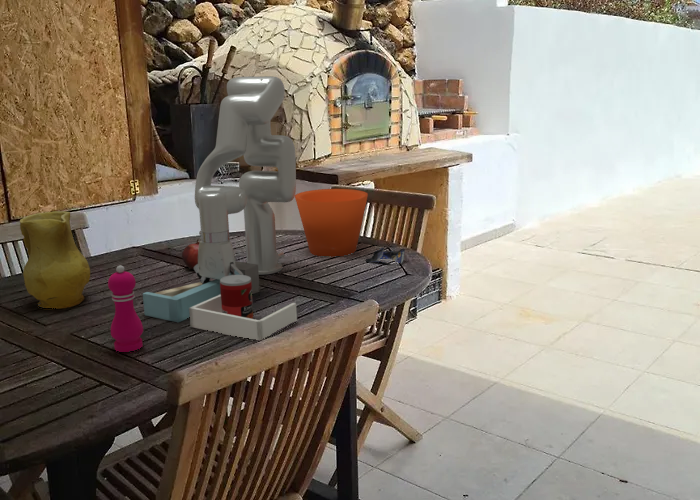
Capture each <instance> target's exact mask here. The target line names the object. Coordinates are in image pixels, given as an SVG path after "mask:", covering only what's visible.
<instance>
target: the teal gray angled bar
mask: <svg viewBox="0 0 700 500" xmlns="http://www.w3.org/2000/svg"><path fill="white" fill-rule="evenodd" d="M235 265H236V267H237V268H238V269H239V270H240V271H241V272H242V273H243V275H246V276H249V277H250V278H251V283H252V294H253V295H255V294H256V293H259V292H260V277H259V272H258V265H257V264H250V263H247V262H244V261H237V260H235ZM209 281H210V282H208V283H205V284H203V285H200V286H198V287H195V288H193V289H190V290H188V291H185V292H183V293H180V294H178V295H176V296H173V297H171V296H166V295H161V294H156V292H151V291H146V292H145V291H144V292H143V293H142V299H143V301H142V302H143V310H144V311H143V313H144V316H147V317H151V318H156V319H161V320H166V321H170V322H175V323H181V322H183V321H186V320H188V319H190V318H189V317H190V314H189V308H190V307H192V306H195V305H197V304H199V303H202V302H204V301H206V300H209V299H211V298H213V297H216V296H218V295H220V294H221V291H220V280H218V279H213V280H209ZM187 318H188V319H187Z"/></svg>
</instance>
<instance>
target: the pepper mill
mask: <svg viewBox="0 0 700 500" xmlns="http://www.w3.org/2000/svg"><path fill="white" fill-rule="evenodd" d="M115 269H116V271H115V272H114V273H112V274H111V275H110V276H109V278H108V281H107V287H108V289H109V290H110V291H111V292H112V293H111V300H112V301H113V302H114V308H115V309H114V310H115V311H114V317H113V319H112V321H111V324H110V335H111V338H112V339H113V340H115V341H114V342H113V345H114V350H116V351H115V352H117V351H119V352H129V351H134V350H137V349H139V350H141V349H142V348H143V338H142V337H141V336H142V334H143V332H144V326H143V325H144V324H143V323H142V321H141V319H140V317H139V315H138V313H137V312H136V310H135V307H134V299H135V291H134V289H135V287H136V284H137V282H136V278H135V276H134V275H133V274H132V273H130V272H129V271H125V266H123V265H117V266H116V268H115ZM141 347H142V348H141ZM140 348H141V349H140ZM137 351H138V350H137ZM119 352H118V353H119ZM134 352H135V351H134Z"/></svg>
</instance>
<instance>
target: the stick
mask: <svg viewBox="0 0 700 500" xmlns="http://www.w3.org/2000/svg"><path fill="white" fill-rule="evenodd" d="M200 285H202V283H201V282H200V281H199V282H195V283H190V284H186V285H183V286H178V287H174V288H170V289H166V290H161V291H158V292H157V291H156V292H155V293H156V294H161V295H166V296H171V297H173V296H176V295H178V294H180V293H183V292H185V291H188V290H190V289H193V288H195V287H198V286H200Z"/></svg>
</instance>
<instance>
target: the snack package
mask: <svg viewBox="0 0 700 500" xmlns="http://www.w3.org/2000/svg"><path fill="white" fill-rule="evenodd" d="M386 248H387V247H386ZM384 250H385V247H381V248H378V249H377V250H375V251H374V252H373V255H372V256H371V257H369V258H368V257H367V258H366V259H365V263H366V262H368V263H371V262H378V263H379V262H381V261H379V259H392V260H393V261H396V262H398V263H401V265H402V264H403V261H404V258H405V252H406V250H405V248H401V249H399V250H398V251H394V250H389V251H388V250H385V251H384ZM382 264H388V265H389V263H388V262H387V261H382Z"/></svg>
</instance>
